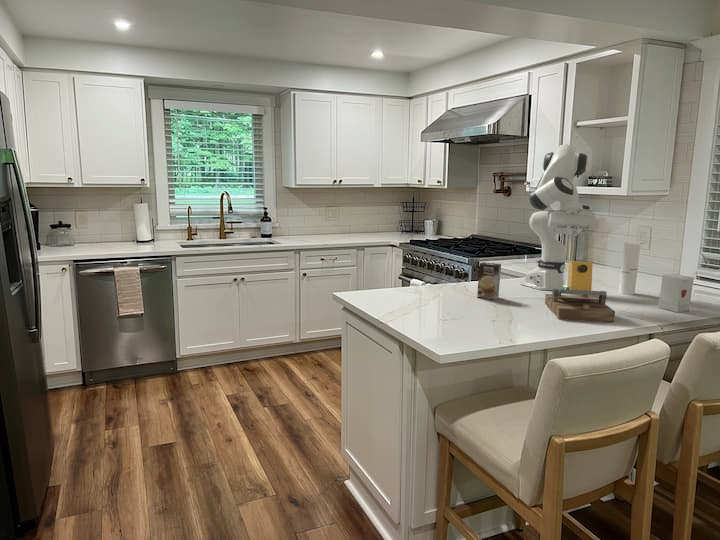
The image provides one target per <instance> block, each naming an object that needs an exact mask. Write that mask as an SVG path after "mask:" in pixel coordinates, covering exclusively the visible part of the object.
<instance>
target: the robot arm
mask: <svg viewBox="0 0 720 540" xmlns="http://www.w3.org/2000/svg"><path fill="white" fill-rule="evenodd" d="M589 162H590V161H589V158H588V155H587V154H586V153H582V152H576V151H575V149H574V147H573V146H572V145H571V144H568V143H565V144H564V143H563V144H561V145H559V146H558V147H557V148H556V149H555V150H554V151H552V152H549V153H546V154H545V155H544V157H543V159H542V164H541V165H542V168H543V169H542V170H544V172H543V173H542V175H541V177H540V179H539V181H538V183H537V185H536V187H535V189H534V190H533V191H531V192H530V194H529V204H530V205H531V207H533V209H535V210H540V211H536V212H533V213H532V214H531V216H530V217H529V221H528V223H529V227H530V229H531V230H532V231H533V232H534V233H535V234H536V235H537V237H538V238H539V241H540V242H541V257H540V258H541V259H539V260H536V262H535V263H536V264H537V266H535V267H534V268H533V269H531V270H530V271H528V272H527V273H526V274H525V278H524V280H523V281H520V284H519V285H521V286H525V287H528V288H532V289H535V290H539V291H553V289H561V290H563V289H562V288H561V287H562V286H563V285H565V281H564V280H565V279H564V277H565V276H564V273H565V268H566V261H565V257H566V245H565V244H564V243H563V242H562V241H560V240H558V239H556V238H555V236H554V235H555V234H556V235H569V236H572V237H574V236H575V237H577V236H578V235H579V233H580V232H582V231H583V230H593V231H594V230H595V229H596V228H597V225H598V220H597V217H596V215H595V213H594V212H593V207H592V206H590V205H585V204H582V203H580V201H579V199H580V196H579V191H578V189H577V186H576V184H575V183H574V179H575V177H576V178H577V179H578V178H579V177H580V176H582V175H583V174H585V173H586V171H587V169H588V167H589ZM549 207H550V208H551V209H550V210H546V209H547V208H549Z"/></svg>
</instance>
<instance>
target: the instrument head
mask: <svg viewBox="0 0 720 540" xmlns="http://www.w3.org/2000/svg"><path fill="white" fill-rule="evenodd" d="M567 265H568V266H567V284H564V285H563V286H562V287H561V288H562V289H563V290H561V289H558V290H559V293H561V294H565V295H566V294H567V295H568V294H569V295H570V294H571V295H581V294H586V295H587V296H599V295H606V296H607V294H606V293H608V292H607V291H605V290H599V291H598V290H592V289H593V287H592V282H593V261H583V260H582V261H580V260H579V261H577V260H576V261H575V260H573V261H571V260H570V261H568V264H567ZM604 291H605V292H604Z"/></svg>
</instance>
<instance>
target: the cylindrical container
mask: <svg viewBox="0 0 720 540" xmlns="http://www.w3.org/2000/svg"><path fill="white" fill-rule="evenodd" d="M623 245H624V246H623V252H622V253H623V254H622V260H621V269H620V278H619V286H618V294H621V293H622V295H626V294H628V295H629V296H634V295H636V294H635V292H636V285H637V278H638V276H637V275H638V268H639V259H640V253H641V245H642V244H641V243H638V242H624V243H623ZM633 294H634V295H633Z"/></svg>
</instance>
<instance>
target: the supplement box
mask: <svg viewBox="0 0 720 540" xmlns="http://www.w3.org/2000/svg"><path fill="white" fill-rule="evenodd" d="M694 279H695V277H694V276H693V277H692V276H686V275H683V274H678V273H677V274H676V273H673V274H662V278H661V285H660V291H659V298H658V304H657V305H658V306H657V308H658V309H662V310H667V311H670V312H674V313H680V312H688V311H689V312H690V308H691V307H690V305H691V299H692V292H693V286H694Z"/></svg>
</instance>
